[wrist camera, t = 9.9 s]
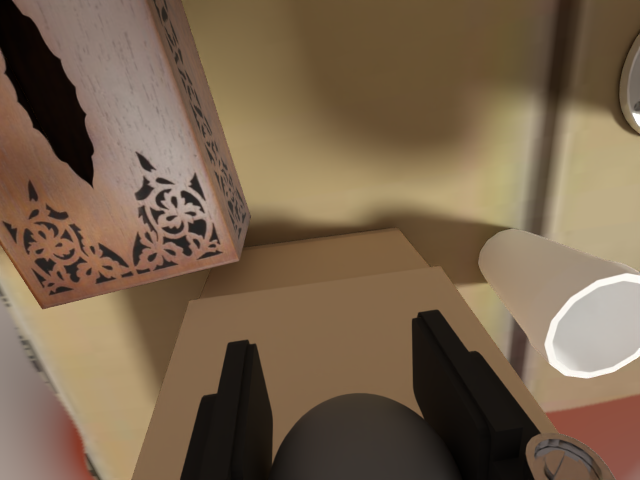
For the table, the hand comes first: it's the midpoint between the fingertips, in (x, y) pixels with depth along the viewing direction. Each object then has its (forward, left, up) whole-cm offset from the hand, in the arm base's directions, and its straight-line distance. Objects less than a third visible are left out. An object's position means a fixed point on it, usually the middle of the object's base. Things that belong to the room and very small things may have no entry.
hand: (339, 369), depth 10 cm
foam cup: (+11, +21, -25) cm, 35 cm away
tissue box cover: (-9, -14, -26) cm, 30 cm away
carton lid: (+8, 0, -5) cm, 9 cm away
